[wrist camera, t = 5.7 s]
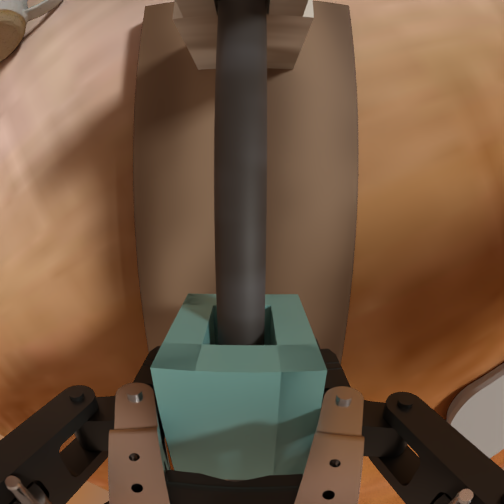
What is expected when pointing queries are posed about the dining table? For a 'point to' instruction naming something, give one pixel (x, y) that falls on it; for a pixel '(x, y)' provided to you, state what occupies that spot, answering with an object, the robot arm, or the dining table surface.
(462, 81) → the dining table surface
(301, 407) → the sleeve
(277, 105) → the stand
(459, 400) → the tablet
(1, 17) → the ceramic mug
